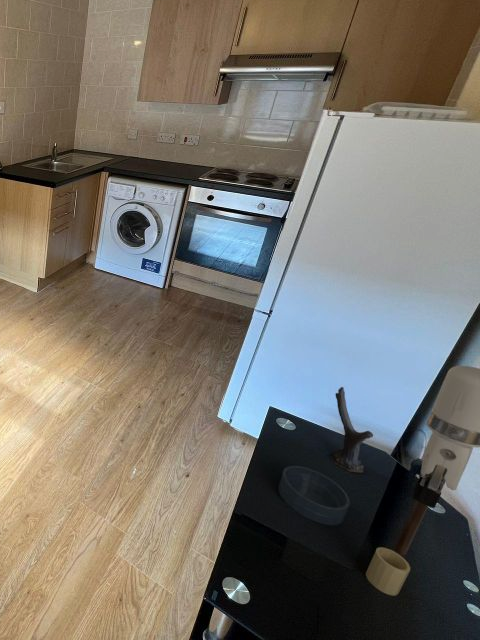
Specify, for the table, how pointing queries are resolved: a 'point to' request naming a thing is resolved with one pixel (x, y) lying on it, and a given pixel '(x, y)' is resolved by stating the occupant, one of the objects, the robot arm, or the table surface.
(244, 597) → the table surface
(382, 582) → the cup
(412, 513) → the stick
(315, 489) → the bowl
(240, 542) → the table surface
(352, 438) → the antler
